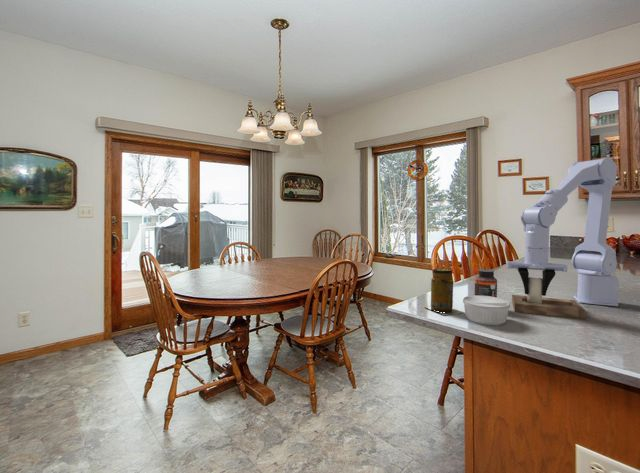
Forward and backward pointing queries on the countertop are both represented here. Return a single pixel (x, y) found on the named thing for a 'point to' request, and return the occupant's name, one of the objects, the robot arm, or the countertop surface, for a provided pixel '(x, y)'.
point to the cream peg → (535, 290)
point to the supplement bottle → (486, 283)
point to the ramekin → (486, 309)
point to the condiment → (442, 292)
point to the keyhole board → (549, 307)
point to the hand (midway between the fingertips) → (534, 294)
